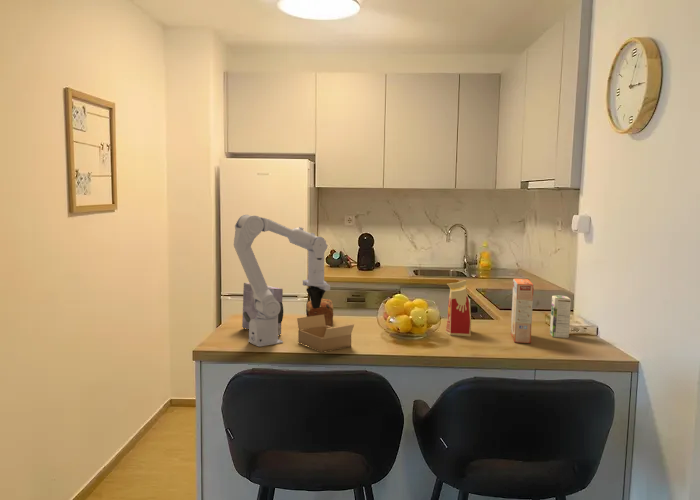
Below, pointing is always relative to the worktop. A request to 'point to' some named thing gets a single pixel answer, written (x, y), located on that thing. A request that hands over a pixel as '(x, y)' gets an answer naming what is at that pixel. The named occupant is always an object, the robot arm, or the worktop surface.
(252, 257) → the robot arm
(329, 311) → the bread
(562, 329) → the syrup box
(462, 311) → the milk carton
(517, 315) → the cracker box
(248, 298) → the cake pan box
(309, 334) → the carton
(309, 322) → the far flap
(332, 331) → the near flap
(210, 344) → the worktop surface
